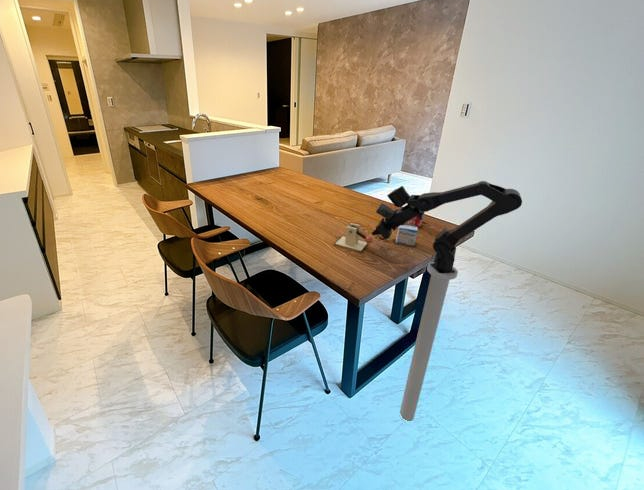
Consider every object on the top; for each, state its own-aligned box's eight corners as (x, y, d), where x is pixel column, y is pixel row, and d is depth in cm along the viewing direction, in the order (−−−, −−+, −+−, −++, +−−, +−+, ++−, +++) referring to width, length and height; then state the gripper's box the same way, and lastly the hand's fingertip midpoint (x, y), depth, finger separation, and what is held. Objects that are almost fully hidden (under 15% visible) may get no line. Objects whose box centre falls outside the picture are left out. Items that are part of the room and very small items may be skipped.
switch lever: (371, 243, 132) (374, 237, 130) (368, 245, 129) (372, 240, 127) (349, 229, 135) (353, 223, 133) (347, 231, 133) (350, 226, 131)
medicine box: (395, 244, 136) (398, 227, 132) (395, 239, 140) (399, 223, 136) (414, 247, 133) (418, 230, 130) (414, 242, 137) (417, 226, 133)
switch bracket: (367, 244, 136) (369, 225, 132) (361, 253, 129) (363, 232, 125) (342, 238, 142) (344, 219, 138) (335, 245, 135) (336, 226, 132)
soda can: (420, 224, 156) (425, 203, 151) (421, 230, 150) (426, 208, 145) (405, 222, 158) (410, 201, 153) (406, 228, 152) (411, 207, 147)
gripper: (395, 193, 126) (367, 212, 136) (384, 206, 112) (353, 226, 122) (412, 214, 125) (382, 231, 135) (403, 230, 111) (370, 248, 121)
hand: (372, 233), depth 128 cm, fingers closed
